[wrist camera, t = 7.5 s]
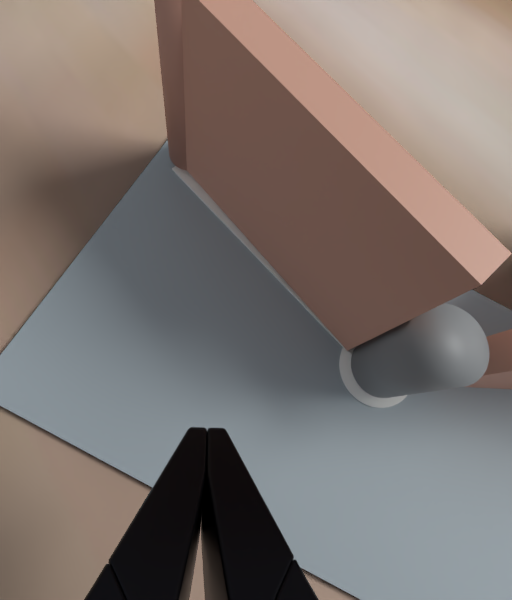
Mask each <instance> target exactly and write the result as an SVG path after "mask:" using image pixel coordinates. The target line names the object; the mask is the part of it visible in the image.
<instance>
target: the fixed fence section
mask: <svg viewBox="0 0 512 600" xmlns="http://www.w3.org/2000/svg"><path fill="white" fill-rule="evenodd" d="M486 338H487V341H488V345H489V363H488V366H487V369H486V371H485V373H484V374H483V376H482V377H481V378H480V379H479V380H478V381H477V382H475V383H474V384H472V385H469V386H466V387H474V388H495V389H512V329H510V330H506V331H503V332H500V333H497V334H493V335H490V336H487V337H486Z"/></svg>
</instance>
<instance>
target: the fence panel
mask: <svg viewBox="0 0 512 600" xmlns="http://www.w3.org/2000/svg"><path fill="white" fill-rule="evenodd" d="M154 2H155V13H156V23H157V33H158V44H159V54H160V64H161V75H162V85H163V96H164V106H165V116H166V127H167V137H168V147H169V156H170V159H171V161H172V162H173V164H174V165H175V166H177V167H178V168H180V169H183V170H187V171H188V172H189V173H190V175H191V176H192V177H193V178H194V179H195V180H196V181H197V182H198V184H199V185H200V186H201V187H202V188H203V189H204V190H205V191H206V193H207V194H208V195H209V196H210V197H211V198H212V199H213V200H214V202H215V203H216V204H217V205H218V206H219V207H220V208H221V209H222V211H223V212H224V213H225V214H226V215H227V216H228V217H229V218H230V220H231V221H232V222H233V223H234V224H235V225H236V226H237V227H238V228H239V230H240V231H241V232H242V233H243V234H244V235H245V236H246V237H247V239H248V240H249V241H250V242H251V243H252V244H253V245H254V246H255V248H256V249H257V250H258V251H259V252H260V253H261V254H262V255H263V257H264V258H265V259H266V260H267V261H268V262H269V263H270V264H271V266H272V267H273V268H274V269H275V270H276V271H277V272H278V273H279V275H280V276H281V277H282V278H283V279H284V280H285V281H286V282H287V284H288V285H289V286H290V287H291V288H292V289H293V290H294V291H295V293H296V294H297V295H298V296H299V297H300V298H301V299H302V300H303V301H304V303H305V304H306V305H307V306H308V307H309V308H310V309H311V310H312V312H313V313H314V314H315V315H316V316H317V317H318V318H319V319H320V321H321V322H322V323H323V324H324V325H325V326H326V327H327V328H328V330H329V331H330V332H331V333H332V334H333V335H334V336H335V337H336V339H337V340H338V341H339V342H340V343H341V344H342V345H343V346H344V348H345V349H346V350H347V351H348V350H350V349H352V348H354V347H355V349H354V351H353V353H352V357H351V369H352V373H353V376H354V378H355V380H356V382H357V384H358V385H359V386H360V387H361V388H362V389H363V390H364V391H365V392H366V393H368V394H370V395H372V396H374V397H378V398H390V397H397V396H404V395H411V394H418V393H425V392H432V391H439V390H445V389H452V388H459V387H466V386H469V385H472V384H474V383H475V382H477V381H478V380H479V379H480V378H481V377H482V376H483V374H484V373H485V371H486V369H487V366H488V363H489V345H488V341H487V338H486V336H485V333H484V331H483V330H482V328H481V326H480V325H479V323H478V322H477V321H476V320H475V319H474V318H473V317H472V316H471V315H470V314H469V313H467V312H466V311H464V310H463V309H461V308H459V307H457V306H454V305H450V304H444V303H446V302H448V301H450V300H452V299H454V298H456V297H458V296H460V295H462V294H464V293H466V292H468V291H470V290H472V289H474V288H476V287H478V286H480V285H482V284H483V283H484V282H485V281H486V280H487V279H488V278H489V276H490V275H491V274H492V273H493V272H494V271H495V270H496V269H497V268H498V267H499V266H500V265H501V264H502V263H503V262H504V261H505V260H506V259H507V258H508V257H509V256H510V255H511V254H512V253H511V252H510V251H509V250H508V249H507V248H506V247H505V246H504V245H503V244H502V243H501V242H500V241H499V240H498V239H497V238H496V237H495V236H494V235H493V234H491V233H490V232H489V231H488V230H487V229H486V228H485V227H484V226H483V225H482V224H481V223H480V222H479V221H478V220H477V219H476V218H475V217H474V216H473V215H472V214H471V213H470V212H469V211H468V210H467V209H466V208H465V207H464V206H463V205H462V204H461V203H460V202H459V201H458V200H457V199H456V198H455V197H454V196H453V195H451V194H450V193H449V192H448V191H447V190H446V189H445V188H444V187H443V186H442V185H441V184H440V183H439V182H438V181H437V180H436V179H435V178H434V177H433V176H432V175H431V174H430V173H429V172H428V171H427V170H426V169H425V168H424V167H423V166H422V165H421V164H420V163H419V162H418V161H417V160H416V159H415V158H414V157H413V156H411V155H410V154H409V153H408V152H407V151H406V150H405V149H404V148H403V147H402V146H401V145H400V144H399V143H398V142H397V141H396V140H395V139H394V138H393V137H392V136H391V135H390V134H389V133H388V132H387V131H386V130H385V129H384V128H383V127H382V126H381V125H380V124H379V123H378V122H377V121H376V120H375V119H374V118H373V117H372V116H370V115H369V114H368V113H367V112H366V111H365V110H364V109H363V108H362V107H361V106H360V105H359V104H358V103H357V102H356V101H355V100H354V99H353V98H352V97H351V96H350V95H349V94H348V93H347V92H346V91H345V90H344V89H343V88H342V87H341V86H340V85H339V84H338V83H337V82H336V81H335V80H334V79H333V78H332V77H330V76H329V75H328V74H327V73H326V72H325V71H324V70H323V69H322V68H321V67H320V66H319V65H318V64H317V63H316V62H315V61H314V60H313V59H312V58H311V57H310V56H309V55H308V54H307V53H306V52H305V51H304V50H303V49H302V48H301V47H300V46H299V45H298V44H297V43H296V42H295V41H294V40H293V39H292V38H290V37H289V36H288V35H287V34H286V33H285V32H284V31H283V30H282V29H281V28H280V27H279V26H278V25H277V24H276V23H275V22H274V21H273V20H272V19H271V18H270V17H269V16H268V15H267V14H266V13H265V12H264V11H263V10H262V9H261V8H260V7H259V6H258V5H257V4H256V3H255V2H254V1H253V0H154Z"/></svg>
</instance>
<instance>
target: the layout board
mask: <svg viewBox="0 0 512 600" xmlns="http://www.w3.org/2000/svg"><path fill="white" fill-rule="evenodd" d="M444 304H450V305H454V306H457V307H459V308H461V309H463V310H464V311H466V312H467V313H469V314H470V315H471V316H472V317H473V318H474V319H475V320H476V321H477V322H478V323H479V325H480V326H481V328H482V330H483V331H484V333H485V336H486V337H487V336H490V335H493V334H497V333H500V332H503V331H506V330H510V329H512V310H510V309H508V308H506V307H504V306H502V305H500V304H499V303H497V302H495V301H493V300H491V299H489V298H487V297H485V296H483V295H481V294H479V293H478V292H476V291H474V290H470V291H468V292H466V293H464V294H462V295H460V296H458V297H456V298H454V299H452V300H450V301H448V302H446V303H444ZM354 349H355V347H354V348H352V349H350V350H348V351H347V350H346V349H345V348H344V346H343V345H342V344H341V343H340V342H339V341H338V340H337V339H336V337H335V336H334V335H333V334H332V333H331V332H330V331H329V330H328V328H327V327H326V326H325V325H324V324H323V323H322V322H321V321H320V319H319V318H318V317H317V316H316V315H315V314H314V313H313V312H312V310H311V309H310V308H309V307H308V306H307V305H306V304H305V303H304V301H303V300H302V299H301V298H300V297H299V296H298V295H297V294H296V293H295V291H294V290H293V289H292V288H291V287H290V286H289V285H288V284H287V282H286V281H285V280H284V279H283V278H282V277H281V276H280V275H279V273H278V272H277V271H276V270H275V269H274V268H273V267H272V266H271V264H270V263H269V262H268V261H267V260H266V259H265V258H264V257H263V255H262V254H261V253H260V252H259V251H258V250H257V249H256V248H255V246H254V245H253V244H252V243H251V242H250V241H249V240H248V239H247V237H246V236H245V235H244V234H243V233H242V232H241V231H240V230H239V228H238V227H237V226H236V225H235V224H234V223H233V222H232V221H231V220H230V218H229V217H228V216H227V215H226V214H225V213H224V212H223V211H222V209H221V208H220V207H219V206H218V205H217V204H216V203H215V202H214V200H213V199H212V198H211V197H210V196H209V195H208V194H207V193H206V191H205V190H204V189H203V188H202V187H201V186H200V185H199V184H198V182H197V181H196V180H195V179H194V178H193V177H192V176H191V175H190V173H189V172H188V171H187V170H183V169H180V168H178V167H177V166H175V165H174V164H173V162H172V161H171V159H170V156H169V147H168V140H167V141H166V142H165V144H164V145H163V146H162V148H161V149H160V150H159V151H158V153H157V154H156V155H155V157H154V158H153V159H152V160H151V162H150V163H149V164H148V166H147V167H146V168H145V169H144V171H143V172H142V173H141V175H140V176H139V177H138V178H137V180H136V181H135V182H134V184H133V185H132V186H131V187H130V189H129V190H128V191H127V193H126V194H125V195H124V196H123V198H122V199H121V200H120V202H119V203H118V204H117V205H116V207H115V208H114V209H113V211H112V212H111V213H110V215H109V216H108V217H107V218H106V220H105V221H104V222H103V224H102V225H101V226H100V227H99V229H98V230H97V231H96V233H95V234H94V235H93V236H92V238H91V239H90V240H89V242H88V243H87V244H86V245H85V247H84V248H83V249H82V251H81V252H80V253H79V254H78V256H77V257H76V258H75V260H74V261H73V262H72V263H71V265H70V266H69V267H68V269H67V270H66V271H65V272H64V274H63V275H62V276H61V278H60V279H59V280H58V281H57V283H56V284H55V285H54V287H53V288H52V289H51V291H50V292H49V293H48V294H47V296H46V297H45V298H44V300H43V301H42V302H41V303H40V305H39V306H38V307H37V309H36V310H35V311H34V312H33V314H32V315H31V316H30V318H29V319H28V320H27V321H26V323H25V324H24V325H23V327H22V328H21V329H20V330H19V332H18V333H17V334H16V336H15V337H14V338H13V339H12V341H11V342H10V343H9V345H8V346H7V347H6V348H5V350H4V351H3V352H2V354H1V355H0V406H2V407H4V408H5V409H7V410H9V411H11V412H13V413H15V414H17V415H18V416H20V417H22V418H24V419H26V420H28V421H30V422H31V423H33V424H35V425H37V426H39V427H41V428H43V429H44V430H46V431H48V432H50V433H52V434H54V435H56V436H57V437H59V438H61V439H63V440H65V441H67V442H69V443H70V444H72V445H74V446H76V447H78V448H80V449H82V450H83V451H85V452H87V453H89V454H91V455H93V456H95V457H96V458H98V459H100V460H102V461H104V462H106V463H108V464H109V465H111V466H113V467H115V468H117V469H119V470H121V471H122V472H124V473H126V474H128V475H130V476H132V477H134V478H135V479H137V480H139V481H141V482H143V483H145V484H147V485H148V486H150V487H152V488H153V486H154V484H155V483H156V481H157V480H158V478H159V476H160V475H161V473H162V471H163V470H164V468H165V466H166V465H167V463H168V461H169V460H170V458H171V456H172V455H173V453H174V451H175V450H176V448H177V446H178V445H179V443H180V441H181V440H182V438H183V436H184V435H185V433H186V432H187V430H188V429H189V428H190V427H204V428H206V429H207V430H208V428H224V429H226V431H227V433H228V434H229V436H230V438H231V440H232V442H233V444H234V446H235V447H236V449H237V451H238V453H239V455H240V457H241V459H242V460H243V462H244V464H245V466H246V468H247V470H248V472H249V473H250V475H251V477H252V479H253V481H254V483H255V485H256V486H257V488H258V490H259V492H260V494H261V496H262V498H263V499H264V501H265V503H266V505H267V507H268V509H269V511H270V512H271V514H272V516H273V518H274V520H275V522H276V524H277V525H278V527H279V529H280V531H281V533H282V535H283V537H284V538H285V540H286V542H287V544H288V546H289V548H290V550H291V551H292V553H293V555H294V560H297V562H298V564H299V566H300V567H301V568H303V569H304V570H306V571H308V572H310V573H312V574H314V575H316V576H317V577H319V578H321V579H323V580H325V581H327V582H329V583H330V584H332V585H334V586H336V587H338V588H340V589H342V590H343V591H345V592H347V593H349V594H351V595H353V596H355V597H356V598H358V599H360V600H512V389H495V388H474V387H459V388H452V389H445V390H439V391H432V392H425V393H418V394H411V395H404V396H397V397H390V398H378V397H374V396H372V395H370V394H368V393H366V392H365V391H364V390H363V389H362V388H361V387H360V386H359V385H358V384H357V382H356V380H355V378H354V376H353V373H352V369H351V357H352V353H353V351H354Z"/></svg>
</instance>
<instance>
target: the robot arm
mask: <svg viewBox="0 0 512 600" xmlns="http://www.w3.org/2000/svg"><path fill="white" fill-rule="evenodd" d="M200 527H201V541H202V558H203V574H204V591H205V600H318V598H317V596H316V595H315V593H314V591H313V589H312V588H311V586H310V584H309V582H308V581H307V579H306V577H305V575H304V573H303V571H302V570H301V568H300V566H299V564H298V562H297V560H294V555H293V553H292V551H291V550H290V548H289V546H288V544H287V542H286V540H285V538H284V537H283V535H282V533H281V531H280V529H279V527H278V525H277V524H276V522H275V520H274V518H273V516H272V514H271V512H270V511H269V509H268V507H267V505H266V503H265V501H264V499H263V498H262V496H261V494H260V492H259V490H258V488H257V486H256V485H255V483H254V481H253V479H252V477H251V475H250V473H249V472H248V470H247V468H246V466H245V464H244V462H243V460H242V459H241V457H240V455H239V453H238V451H237V449H236V447H235V446H234V444H233V442H232V440H231V438H230V436H229V434H228V433H227V431H226V429H224V428H208V430H207V429H206V428H204V427H190V428H189V429H188V430H187V432H186V433H185V435H184V436H183V438H182V440H181V441H180V443H179V445H178V446H177V448H176V450H175V451H174V453H173V455H172V456H171V458H170V460H169V461H168V463H167V465H166V466H165V468H164V470H163V471H162V473H161V475H160V476H159V478H158V480H157V481H156V483H155V484H154V486H153V488H152V489H151V491H150V493H149V494H148V496H147V498H146V499H145V501H144V503H143V504H142V506H141V508H140V509H139V511H138V513H137V514H136V516H135V518H134V519H133V521H132V523H131V524H130V526H129V528H128V529H127V531H126V532H125V534H124V536H123V537H122V539H121V541H120V542H119V544H118V546H117V547H116V549H115V551H114V552H113V554H112V556H111V557H110V559H109V564H106V565H105V567H104V568H103V570H102V572H101V573H100V575H99V577H98V578H97V580H96V582H95V583H94V585H93V587H92V588H91V590H90V591H89V593H88V594H87V596H86V597H85V599H84V600H189V597H190V591H191V585H192V579H193V573H194V567H195V561H196V555H197V549H198V543H199V536H200Z"/></svg>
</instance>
